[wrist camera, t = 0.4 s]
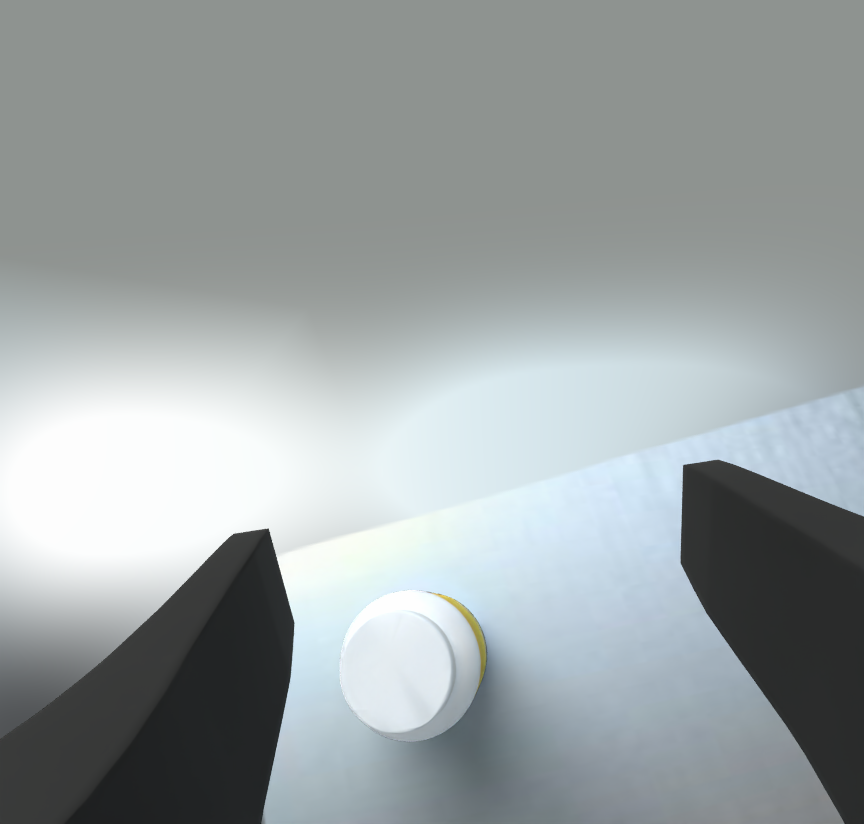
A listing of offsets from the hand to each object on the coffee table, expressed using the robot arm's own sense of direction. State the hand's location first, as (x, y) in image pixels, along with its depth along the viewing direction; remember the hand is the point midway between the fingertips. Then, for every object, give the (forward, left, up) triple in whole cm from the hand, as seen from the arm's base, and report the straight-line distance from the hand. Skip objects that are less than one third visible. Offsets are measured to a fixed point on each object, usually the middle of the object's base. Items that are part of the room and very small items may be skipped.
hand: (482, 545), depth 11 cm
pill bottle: (-3, +5, -28) cm, 28 cm away
